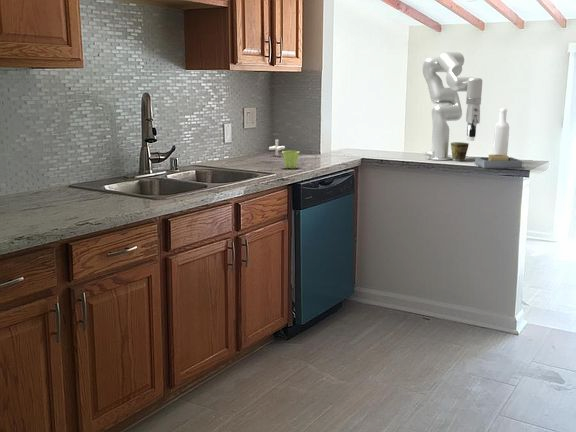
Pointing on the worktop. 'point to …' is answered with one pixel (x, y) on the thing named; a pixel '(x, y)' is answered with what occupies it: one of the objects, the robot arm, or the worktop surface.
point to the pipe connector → (276, 147)
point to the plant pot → (290, 158)
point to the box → (498, 162)
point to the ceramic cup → (459, 150)
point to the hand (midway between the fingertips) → (471, 136)
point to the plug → (468, 134)
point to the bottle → (501, 135)
